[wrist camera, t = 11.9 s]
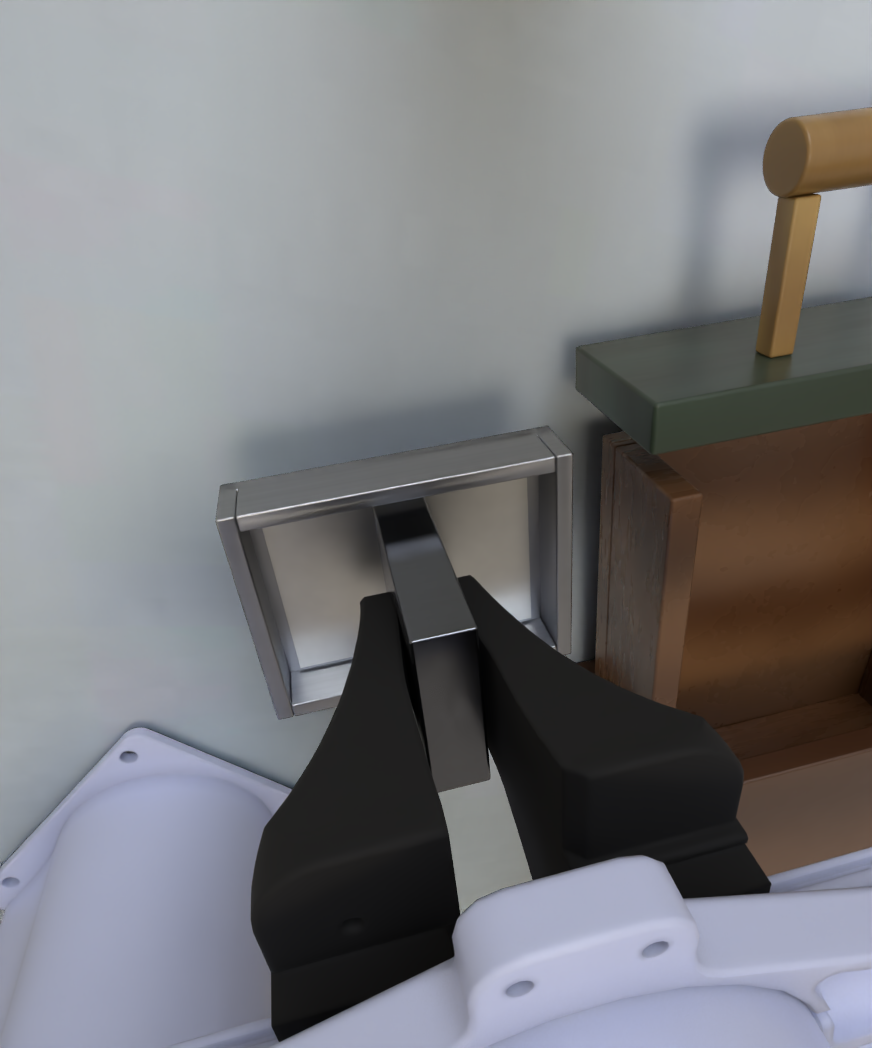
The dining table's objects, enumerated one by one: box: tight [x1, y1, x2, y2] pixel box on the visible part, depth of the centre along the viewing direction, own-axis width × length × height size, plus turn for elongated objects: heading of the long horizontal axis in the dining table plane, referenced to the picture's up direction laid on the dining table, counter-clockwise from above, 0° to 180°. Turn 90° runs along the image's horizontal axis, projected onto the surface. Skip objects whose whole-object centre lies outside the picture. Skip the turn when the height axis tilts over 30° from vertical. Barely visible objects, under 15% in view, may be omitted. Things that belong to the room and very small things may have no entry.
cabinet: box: [576, 659, 872, 876], centre depth 27 cm, size 17×14×6 cm
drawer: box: [576, 107, 872, 760], centre depth 19 cm, size 20×12×4 cm, turn 6°
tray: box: [215, 426, 573, 793], centre depth 15 cm, size 6×8×5 cm
